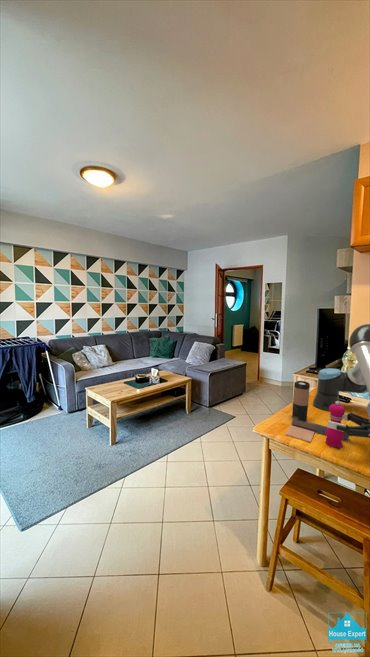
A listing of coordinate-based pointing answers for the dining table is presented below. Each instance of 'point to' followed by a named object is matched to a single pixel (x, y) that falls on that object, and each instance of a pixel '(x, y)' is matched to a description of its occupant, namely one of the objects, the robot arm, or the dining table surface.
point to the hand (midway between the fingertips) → (329, 418)
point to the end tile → (300, 433)
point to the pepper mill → (332, 434)
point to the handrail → (312, 427)
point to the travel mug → (300, 400)
